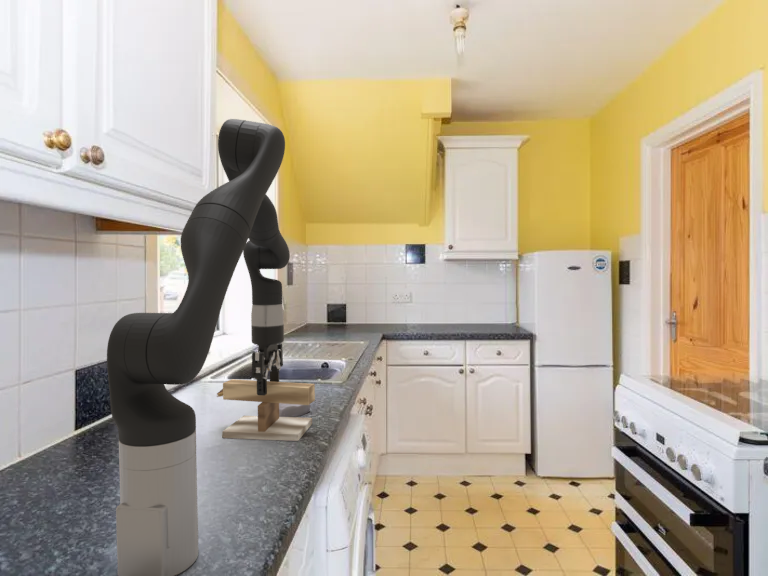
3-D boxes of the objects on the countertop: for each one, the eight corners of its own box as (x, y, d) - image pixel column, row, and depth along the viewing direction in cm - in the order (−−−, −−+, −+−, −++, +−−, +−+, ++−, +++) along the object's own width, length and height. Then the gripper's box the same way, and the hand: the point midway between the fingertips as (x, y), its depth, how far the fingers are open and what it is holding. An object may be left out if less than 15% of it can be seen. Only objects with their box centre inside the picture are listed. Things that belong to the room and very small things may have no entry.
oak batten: (308, 405, 110) (308, 388, 109) (223, 399, 115) (222, 383, 114) (314, 400, 113) (314, 383, 113) (232, 395, 119) (231, 379, 118)
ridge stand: (298, 441, 107) (297, 408, 107) (222, 438, 110) (221, 405, 109) (312, 423, 119) (311, 394, 119) (243, 421, 121) (243, 392, 121)
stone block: (255, 424, 125) (281, 423, 119) (253, 406, 125) (278, 404, 120) (288, 414, 135) (313, 413, 129) (286, 397, 135) (311, 395, 130)
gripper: (272, 327, 106) (273, 398, 107) (292, 320, 120) (292, 383, 121) (240, 326, 107) (241, 398, 107) (263, 319, 121) (264, 382, 122)
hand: (268, 390), depth 114 cm, fingers open, 8 cm apart
